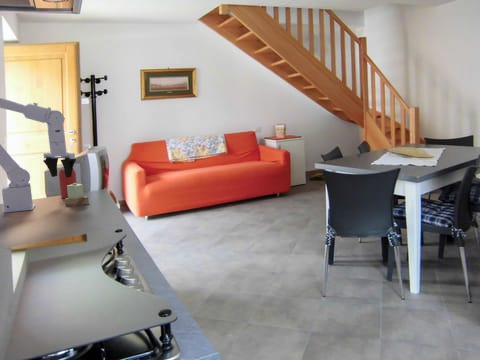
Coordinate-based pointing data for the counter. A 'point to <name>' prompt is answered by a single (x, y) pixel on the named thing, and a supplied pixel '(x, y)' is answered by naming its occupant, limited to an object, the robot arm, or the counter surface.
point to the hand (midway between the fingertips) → (61, 176)
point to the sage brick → (75, 191)
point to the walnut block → (76, 201)
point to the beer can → (66, 182)
